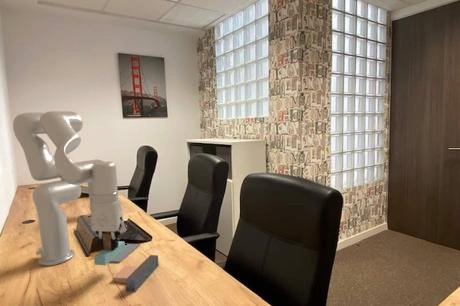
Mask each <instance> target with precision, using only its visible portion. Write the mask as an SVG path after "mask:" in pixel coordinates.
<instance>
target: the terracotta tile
mask: <svg viewBox="0 0 460 306" xmlns="http://www.w3.org/2000/svg"><path fill="white" fill-rule="evenodd" d="M138 267H139V266H134V265H133V266H131V265H125V266H124V267H122V268H121V269H120V270H119V271H118V272H117V273H116V274H115V275H114V276H113V277H112V282H113V283H124V284H126V279H127V278H128V277H129V276H130V275H131V274H132V273H133V272H134V271H135V270H136V269H137V268H138Z"/></svg>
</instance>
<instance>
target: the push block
mask: <svg viewBox="0 0 460 306" xmlns="http://www.w3.org/2000/svg"><path fill="white" fill-rule="evenodd" d="M111 239H112V236H111V232H104V233H103V245H104V250H102V249H101V250H100V251H99V252H97V253H96V254H95V255H94V256H93V259H94V260H93V261H94V265H97V266H107V265H108V264H109V263H110V261H111V260H113V259H114V258H115V257H116V256H118V255H119V254H120V253H121V252H123V251H124V250H125V244H126V243H125V241H122V240H121V241H120V240H118V247H117V248H116V249H115V250H111V241H110V240H111Z"/></svg>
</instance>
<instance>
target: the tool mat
mask: <svg viewBox="0 0 460 306" xmlns="http://www.w3.org/2000/svg"><path fill="white" fill-rule="evenodd" d="M126 244H127V245H125V250H124V251H123V252H121V253H120V254H119V255H118V256H116V257H115V258H114V259H113V260H111V261H110V262H115V264H120V263H122V262H123V261H124V260H125V259H126V258H128V257H129V256H130V255H131V254H133V252H135V251H136V250H137V249H138V248H139V247H140V246H141V243H126ZM135 249H136V250H135ZM129 254H130V255H129ZM128 255H129V256H128ZM123 259H124V260H123ZM122 260H123V261H122ZM110 262H109V263H110Z"/></svg>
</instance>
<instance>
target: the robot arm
mask: <svg viewBox="0 0 460 306" xmlns="http://www.w3.org/2000/svg"><path fill="white" fill-rule="evenodd" d="M83 126H84V125H83V119H82V117H81V116H80V115H79V114H78V113H77V112H75V111H67V110H64V111H63V110H62V111H61V110H57V111H56V110H51V111H47V112H24V113H20V114H18V115H16V116H15V117H14V119H13V122H12V129H13V132H14V133H13V134H14V135H15V138H16V140H17V141H18V143H19V145H20V146H21V148H22V150H23V152H24V156H25V161H26V164H27V167H28V171H29V174H30V175H31V178H32V179H33V180H34V181H36V182H37V181H38V182H40V181H41V182H42V181H49V180H53V179H59V178H60V180H58V181H57V180H56V181H52V182H46V183H42V184H39V185H38V186H36V187H35V188H34V189H33V191H32V192H31V193H32V196H31V197H32V201H33V203H34V206H35V210H36V215H37V219H38V225H39V234H40V241H41V247H38V250H37V251H36V252H35V254H36V255H40V258H39V259H38V264H39V265H40V266H44V267H45V266H47V267H48V266H54V265H58V264H59V265H60V264H62V263H64V262H65V263H66V262H68V261H69V260H72V259H73V257H74V256H75V255H76V253H75V250H74V249H71V246H70V245H71V244H70V239H69V230H68V229H69V228H68V220H67V219H68V218H67V215H66V212H65V211H64V210H63V209H62V208H61V207H60V206H59V205H62V204H66V203H69V202H73V201H76V200H78V199H79V198H80V197H81V194H82V188H81V184H85V183H86V184H88V182H92V181H93V188H94V194H92V198H94V201H95V202H93V203H92V209H90V225H91V228H90V229H91V230H90V231H92V232H94V233H95V234H96V235H97V236H98V238H99V240H100V246H101V251H102V250H104V245H103V233H104V232H111V236H112V239H111V240H110V241H111V250H115V249H116V248H117V247H118V241H119V237H120V235H121V234H123V233H125V232H126V231H127V226H125V223H124V222H125V221H124V220H125V219H124V213H123V207H122V204H121V201H120V200H119V193H118V191H119V190H118V189H119V188H118V178H117V177H118V176H117V166H116V165H117V164H116V163H115V162H113V161H104V160H101V159H92V160H84V161H83V160H82V161H76V162H74V161H73V160H72V159H71V158H70V157H69V154H70V153H71V152H74V151H75V150H76V149H77V148H78V147H79V146H80V144H81V143H82V142H81V141H82V140H81V139H82V138H81V136H80V135H79V134H78V132H80V131H82V129H83ZM42 134H45V135H47V137H48V138H49V139H50V140H51V142H52V143H53V145H54V146H55V147H56V149H55V151H54V155H52V153H51V151H50V147H49V144H48V143H47V142H46V141H45V140H44V139H43V138H42V137H40V136H38V135H42Z"/></svg>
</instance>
